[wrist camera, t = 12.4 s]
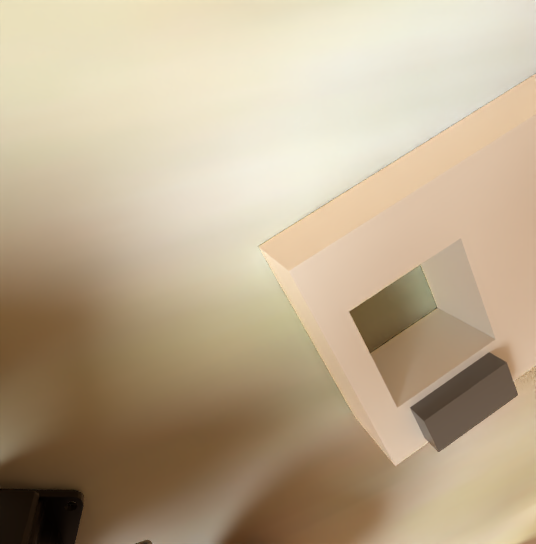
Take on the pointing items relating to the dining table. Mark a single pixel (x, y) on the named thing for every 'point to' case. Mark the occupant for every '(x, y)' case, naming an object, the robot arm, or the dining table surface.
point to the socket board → (428, 277)
